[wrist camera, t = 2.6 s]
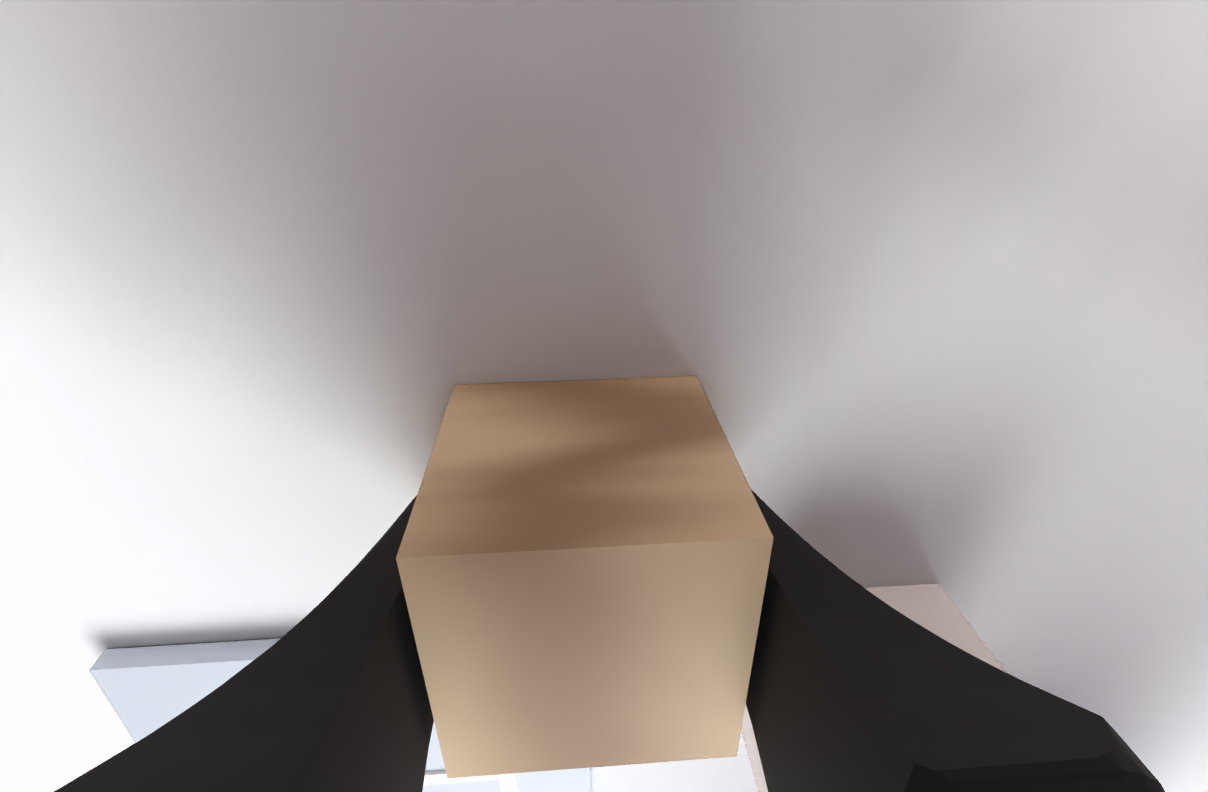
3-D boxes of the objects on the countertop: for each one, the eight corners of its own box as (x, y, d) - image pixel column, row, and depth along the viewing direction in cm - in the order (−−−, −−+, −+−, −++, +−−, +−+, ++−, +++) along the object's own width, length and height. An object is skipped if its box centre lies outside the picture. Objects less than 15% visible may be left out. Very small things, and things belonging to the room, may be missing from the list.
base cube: (696, 374, 12) (773, 537, 8) (682, 553, 15) (736, 756, 10) (454, 383, 12) (395, 558, 8) (481, 565, 14) (447, 778, 10)
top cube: (936, 580, 16) (1082, 773, 11) (894, 699, 18) (1002, 896, 14) (754, 591, 16) (832, 793, 11) (735, 710, 18) (793, 915, 13)
